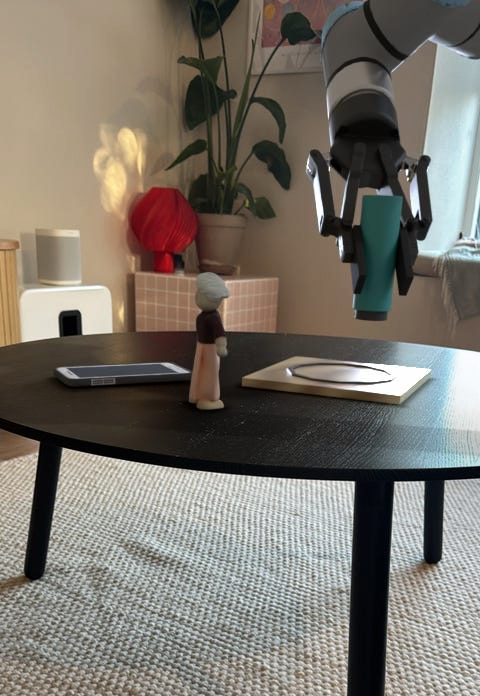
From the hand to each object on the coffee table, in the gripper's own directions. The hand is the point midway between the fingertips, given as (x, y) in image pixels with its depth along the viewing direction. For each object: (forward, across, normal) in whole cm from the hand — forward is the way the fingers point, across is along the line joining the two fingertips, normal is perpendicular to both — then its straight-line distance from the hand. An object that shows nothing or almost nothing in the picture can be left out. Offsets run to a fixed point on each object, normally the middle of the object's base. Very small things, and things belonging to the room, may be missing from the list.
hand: (383, 285), depth 75 cm
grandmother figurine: (+11, +17, -6) cm, 21 cm away
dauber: (0, 0, -5) cm, 5 cm away
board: (0, +1, -16) cm, 16 cm away
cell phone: (+2, +26, -15) cm, 31 cm away
